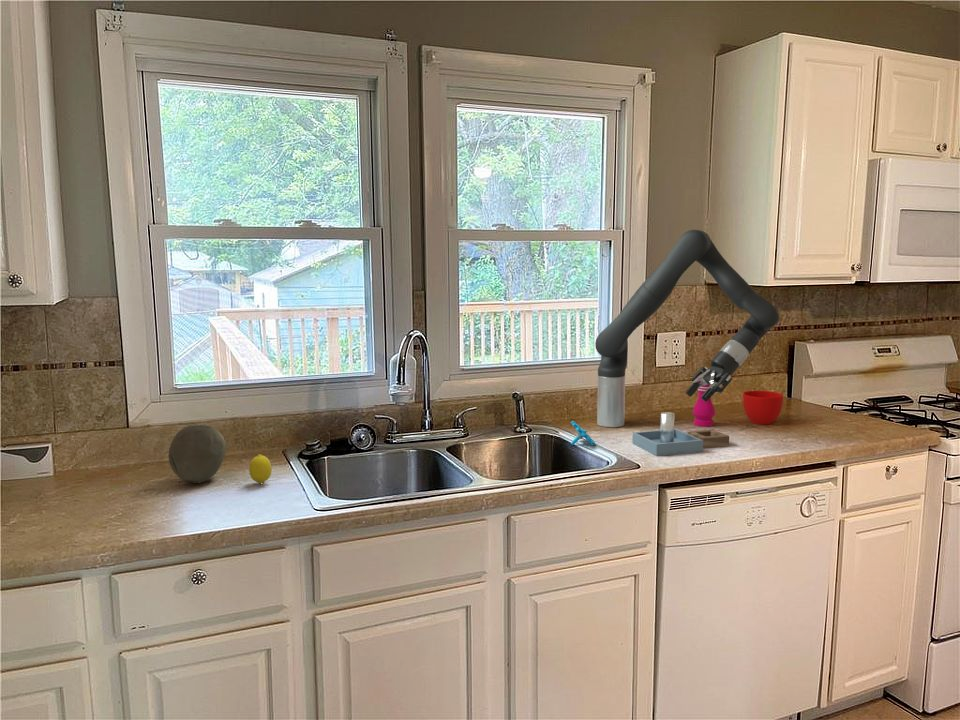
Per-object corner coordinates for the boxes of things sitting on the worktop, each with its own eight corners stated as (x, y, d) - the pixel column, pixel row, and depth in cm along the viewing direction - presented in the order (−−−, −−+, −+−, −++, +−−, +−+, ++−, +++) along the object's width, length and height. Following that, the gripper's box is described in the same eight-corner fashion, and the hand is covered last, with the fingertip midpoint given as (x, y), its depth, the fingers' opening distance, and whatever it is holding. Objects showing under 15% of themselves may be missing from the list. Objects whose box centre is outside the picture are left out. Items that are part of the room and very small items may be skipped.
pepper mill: (691, 426, 241) (693, 368, 239) (693, 421, 248) (695, 365, 245) (713, 427, 239) (715, 369, 236) (715, 423, 245) (717, 366, 243)
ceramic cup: (784, 418, 251) (786, 390, 250) (779, 428, 237) (781, 399, 235) (746, 414, 258) (747, 387, 256) (739, 424, 243) (740, 395, 241)
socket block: (686, 440, 222) (687, 431, 222) (712, 438, 225) (712, 429, 224) (703, 448, 214) (703, 438, 213) (729, 445, 216) (729, 436, 216)
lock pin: (657, 443, 216) (658, 412, 215) (669, 442, 217) (670, 411, 216) (664, 446, 212) (665, 415, 211) (676, 445, 213) (677, 414, 212)
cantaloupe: (223, 486, 183) (220, 430, 181) (165, 491, 181) (161, 434, 178) (231, 471, 197) (227, 418, 195) (176, 475, 194) (172, 421, 192)
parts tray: (632, 443, 220) (632, 432, 220) (675, 439, 224) (676, 428, 224) (656, 456, 206) (656, 444, 205) (702, 451, 210) (702, 440, 209)
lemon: (252, 481, 188) (251, 452, 187) (274, 480, 188) (272, 451, 187) (247, 487, 182) (246, 457, 181) (269, 487, 183) (268, 457, 182)
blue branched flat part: (597, 444, 213) (573, 420, 214) (583, 458, 214) (559, 434, 215) (596, 440, 224) (574, 417, 225) (583, 453, 225) (560, 430, 226)
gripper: (709, 347, 222) (675, 385, 221) (736, 352, 209) (700, 393, 207) (723, 363, 224) (690, 400, 223) (751, 369, 211) (716, 410, 209)
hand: (695, 397), depth 215 cm, fingers open, 8 cm apart
